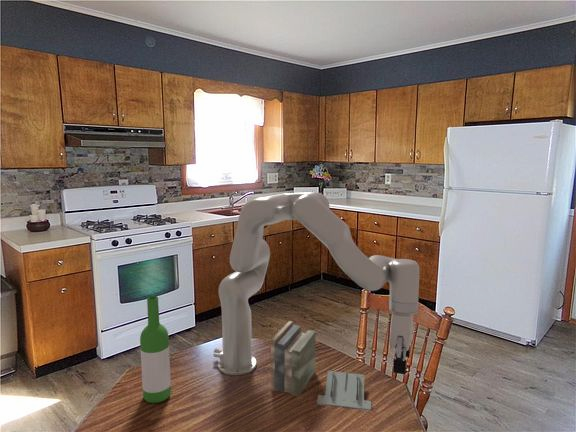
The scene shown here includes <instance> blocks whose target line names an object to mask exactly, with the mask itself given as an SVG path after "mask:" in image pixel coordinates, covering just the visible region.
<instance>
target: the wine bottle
mask: <svg viewBox="0 0 576 432" xmlns="http://www.w3.org/2000/svg"><path fill="white" fill-rule="evenodd" d="M146 302H147V306H146V307H147V325H146V326H145V327H144V328H143V329H142V331H141V333H140V337H139V342H140V343H139V344H140V365H141V367H140V368H141V385H142V387H141V388H142V397H143V399H144V401H146V402H148V403H150V404H156V403H158V404H159V403H161V402H163V401H166V400H167V399H168V398H169V397H170V396H171V392H172V386H171V384H172V382H171V363H170V361H171V360H170V356H171V355H170V341H169V339H170V338H169V336H170V335H169V331H168V330H167V328H166V327H165V326H164V325H163V324H162V323H161V322H160V313H159V312H160V310H159V297H158V295H157V296H156V295H151V296H150V295H149V296H148V297H147V298H146Z"/></svg>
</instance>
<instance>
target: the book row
mask: <svg viewBox="0 0 576 432" xmlns="http://www.w3.org/2000/svg"><path fill="white" fill-rule="evenodd" d="M301 327H302V326H301V325H297V324H294V321H293V320H292V321H291V320H289V321H288V322H286V324H284V326H283V327H282V328H280V330H279V331H278V332H277V333H276V334H275V335H274V336H273V337H272V338H271V339H270V390H271V391H277V392H280V393H284V392H285V393H288V394H291V396H294V397H298V398H300V396H301V395H302V393H303V392H304V390H305V389H306V387H307V385H308V384H309V382H310V381H311V379H312V378H313V376H314V374H315V373H316V337H317V336H316V331H315V330H312V329H311V330H310V329H308V330H307V331H306V332H305V333H304V332H302V329H301Z"/></svg>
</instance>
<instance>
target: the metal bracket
mask: <svg viewBox="0 0 576 432" xmlns="http://www.w3.org/2000/svg"><path fill="white" fill-rule="evenodd" d="M325 384H326V385H325V392H324V393H325V394H324V395H321V394H319V395H317V401H316V404H317V405H318V406H319V405H320V406H331V407H340V408H349V409H357V410H359V411H367V412H370V411H372V401H370V400H366V399H365V374H360V373H350V372H348V373H347V372H340V371H336V370H329V371H327V376H326V383H325Z"/></svg>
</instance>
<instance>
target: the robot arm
mask: <svg viewBox="0 0 576 432" xmlns="http://www.w3.org/2000/svg"><path fill="white" fill-rule="evenodd" d="M237 219H238V221H237V225H236V230H235V233H234V237H233V241H232V247H231V249H230V254H229V265H230V268H231V269H232V270H233V271H234V272H232V273H230V274H228V275H226V276H225V277H224V278H223V279H222V280H221V282H220V284H219V286H218V297H219V301H220V307H221V324H222V327H221V328H222V332H221V333H222V348H220V347H219V348H218V347H214V350H213V357H214V358H218V359H219V361H218V364H217V365H218V369H219V371H220V372H222V373H223V374H224V375H227V376H228V375H229V376H242V375H247V374H249V373H251V372H253V371H254V370H255V369H256V367H257V358H255V357H254V356H253V354H252V353H253V351H252V350H253V349H252V348H253V347H252V342H253V341H252V339H253V338H252V337H253V336H252V328H253V327H252V309H251V307H250V304H249V298H251V297H252V296H253V295H255V294H256V293H258V292H259V291H260V289H262V286H263V284H264V281H265V277H266V274H267V270H268V266H269V262H270V258H271V249H270V246H269V244H268V242H267V241H266V240H265V239H263V236H264V233H265V231H264V227H265V226H267V225H268V226H270V225H275V224H278V223H281V222H283V221H288V220H289V221H291V220H293V221H296V220H297V221H298V222H299V223H300V224H301V225H302V226H304V228H306V230H307V231H309V232H310V233H311V234H312V235H314V237H316V238H317V239H318V241H320V242H321V243H322V244H323V245H324V246H325V247H326V248H327V249H328V251H329V252H330V255H331V256H332V258H333V259H334V261H335V263H336V264H337V266H338V267H339V268H340V270H341V271H343V273H345V275H347V277H348V278H350V279H351V280H352V281H353V282H354V283H355V284H356V285H358V287H360V288H363V289H364V290H367V291H369V292H370V291H371V292H375V291H378V290H380V289H382V288H383V287H384V285H385V284H386V283H387V282H388V283H389V297H388V298H389V299H388V302H389V303H388V305H389V306H388V309H389V311H390V312H391V313H392V314H391V325H390V339H389V340H390V341H389V343H390V344H389V348H390V349H394V356H393V361H392V362H393V368H392V369H393V370H392V372H393V373H395V374H399V375H406V373H407V359H406V358H409V357H410V356H411V353H410V352H411V341H412V337H413V336H412V335H413V327H414V315H416V314H418V313H419V292H420V290H419V289H420V288H419V287H420V264H419V263H418V262H417V261H416V260H413V259H410V258H409V259H408V258H394V257H390V256H386V255H381V254H375V255H371V256H370V257H368V256H367V255H366V254H365V253H363V252H362V251H361V249H360V248H359V247H358V246H357V244H356V243H355V242H354V240H353V237H352V233H351V229H350V227H349V225H348V223H346V222H344V221H343V220H342V219H341V218H340V217H339V216H338V215H337V214H336V213H334V212H333V211H332V210H331V209H330V202H329V199H328V198H327V197H326V196H325V195H324V194H322V193H320V192H316V191H313V192H312V191H311V192H294V193H293V192H291V193H287V192H286V193H278V194H274V195H268V196H262V197H257V198H254V199H251V200H249V201H246V203H245V204H244V205H243V206H242V207H241V209H240V212H239V215H238V218H237Z"/></svg>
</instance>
